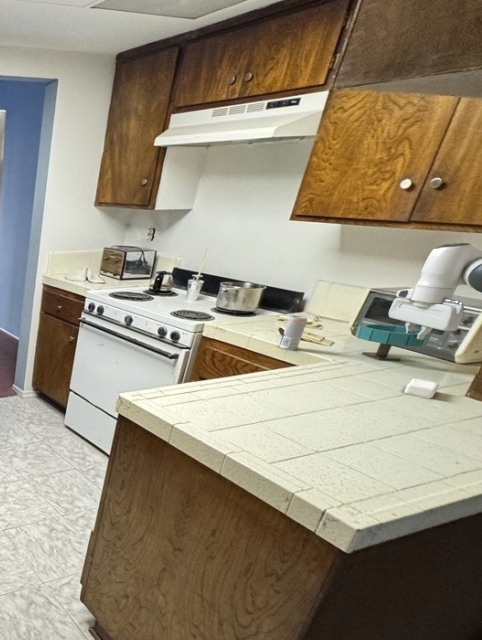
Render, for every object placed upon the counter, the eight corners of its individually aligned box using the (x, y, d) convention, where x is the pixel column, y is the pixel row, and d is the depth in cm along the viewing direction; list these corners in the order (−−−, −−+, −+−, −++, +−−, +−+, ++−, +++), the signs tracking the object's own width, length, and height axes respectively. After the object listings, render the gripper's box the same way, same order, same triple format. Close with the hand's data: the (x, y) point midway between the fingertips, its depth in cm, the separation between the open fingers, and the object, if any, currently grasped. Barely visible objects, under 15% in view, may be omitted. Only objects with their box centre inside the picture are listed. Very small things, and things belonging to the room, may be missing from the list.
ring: (393, 335, 170) (397, 324, 169) (441, 347, 154) (446, 335, 153) (342, 334, 172) (346, 323, 170) (385, 345, 155) (389, 333, 154)
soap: (431, 399, 129) (435, 389, 128) (403, 393, 133) (407, 383, 132) (435, 392, 134) (440, 382, 133) (409, 387, 138) (413, 377, 137)
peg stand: (382, 355, 169) (389, 337, 166) (399, 361, 162) (407, 343, 160) (361, 354, 169) (368, 337, 167) (378, 360, 163) (386, 342, 160)
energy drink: (290, 346, 177) (301, 315, 173) (300, 350, 172) (311, 318, 168) (275, 346, 178) (285, 315, 173) (284, 350, 173) (295, 318, 168)
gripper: (477, 302, 140) (456, 346, 145) (412, 290, 159) (396, 330, 164) (454, 301, 140) (434, 345, 145) (392, 290, 159) (377, 330, 164)
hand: (413, 337), depth 155 cm, fingers closed on ring, 2 cm apart
